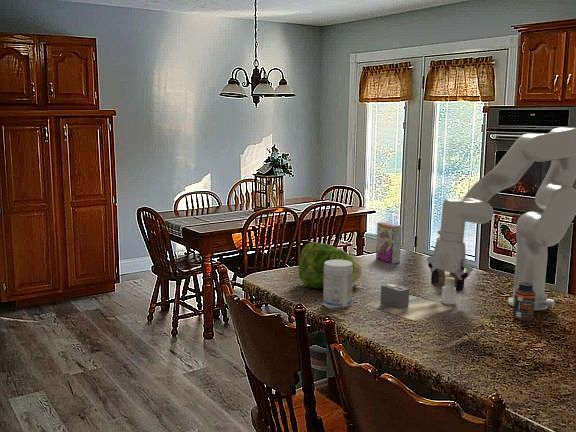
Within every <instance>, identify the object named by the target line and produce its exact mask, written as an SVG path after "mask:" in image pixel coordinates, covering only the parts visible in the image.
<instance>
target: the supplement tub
mask: <svg viewBox="0 0 576 432" xmlns="http://www.w3.org/2000/svg"><path fill="white" fill-rule="evenodd" d="M353 283H354V282H353V263H352V262H350V261H347V260H338V259H336V260H328V261H325V263H324V288H322V289H323V294H322V295H323V305H324V307H325V308H327V309H334V308H345V307H346V308H347V307H350V306H351V305H353V285H354V284H353Z"/></svg>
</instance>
